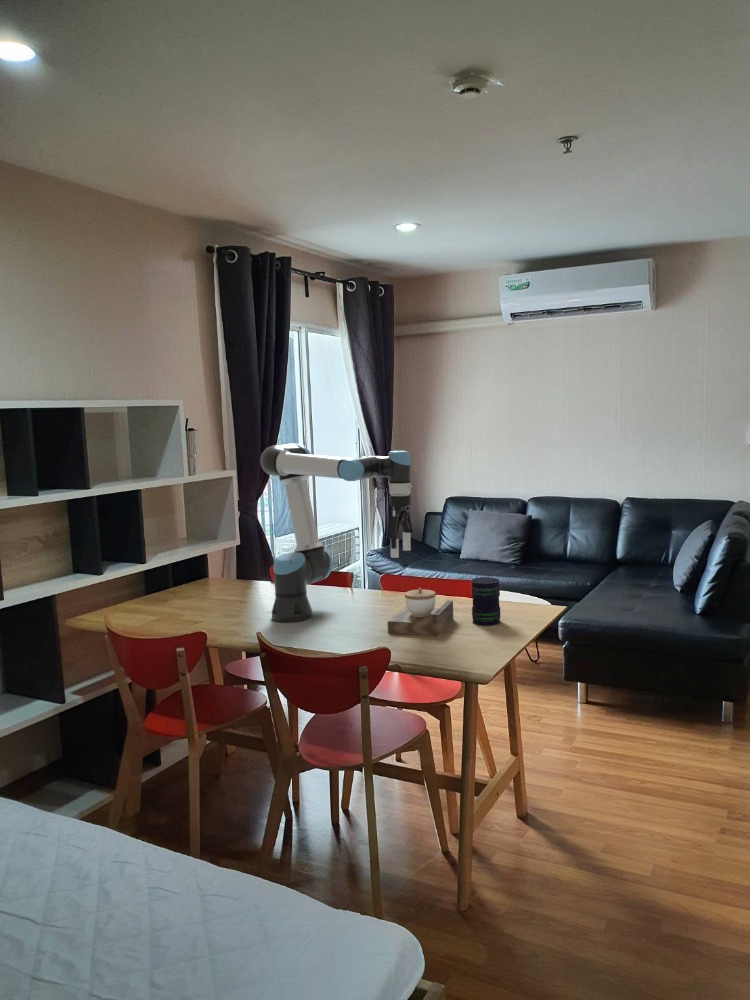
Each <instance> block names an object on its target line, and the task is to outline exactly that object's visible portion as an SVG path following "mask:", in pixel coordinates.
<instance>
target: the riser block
mask: <svg viewBox="0 0 750 1000" xmlns="http://www.w3.org/2000/svg"><path fill="white" fill-rule="evenodd" d="M454 620H455V619H454V600H446V601H445V602H444V603H443V604H442V605H441V606H440V607H438V608H437V607H434V609H433V611H432V612H431V613H430V615H429V616H426V617H415V616H412V614H411V613H410V612H409V611H408V609H407V606H404V607H403V608H401V609H400V610H399V611H398V612H397V613H396V614H395V615H393V616H391V618H390V619H388V620H387V633H388V632H389V633H391V634H403V633H415V634H414V635H421V634H427V635H426V636H439V635H440V636H441V635H442V633H444V631H445V630H446V629H447V628H448V627H449V625H450V624H451V623H453V622H454ZM428 634H429V635H428Z"/></svg>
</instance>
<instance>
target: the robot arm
mask: <svg viewBox="0 0 750 1000" xmlns="http://www.w3.org/2000/svg"><path fill="white" fill-rule="evenodd" d="M259 460H260V465H261V466H260V467H261V469H262V470H263V471H264V472H265V473H266V474H267V475H269V476H271V477H278V478H279V482H280V483H281V484H283V486H284V487H285V494H286V498H287V502H288V508H289V513H290V518H291V522H292V529H293V533H294V539H295V543H296V547H295V548H294V550H293V552H289V553H283V554H280V555H278V556H277V557H275V558H274V560H273V568H272V569H273V578H274V595H275V596H274V597H275V598H274V602H273V606H272V610H271V619H272V620H273V621H275V622H278V623H279V622H280V623H281V622H282V623H292V622H301V621H307V620H309V619H311V618H312V617H313V608H312V606H311V602H310V601H309V598H308V594H307V592H308V590H307V586H308V585H311V584H314V583H316V582H317V583H318V582H321V581H323V580H325V579H326V578H328V577H329V576H330V574H331V573H332V571H333V566H334V564H333V563H334V561H333V558H332V555H331V554H330V553H329V552H328V551H327V549H326V550H325V547H324V544H323V543H322V542H320V541H319V537H318V531H317V527H316V521H315V517H314V511H313V507H312V501H311V496H310V491H309V486H308V479H309V477H310V476H311V477H322V478H331V479H332V478H333V479H342V480H344V481H346V482H355V481H359V480H367V479H373V478H388V480H389V481H388V487H389V488H388V491H389V492H388V494H389V507H390V506H391V507H393V508H394V509H393V510H390V519H389V520H390V521H389V525H388V526H389V527H388V533H387V534H388V535H387V540H390V544H389V545H390V558H393V559H394V558H395V559H396V558H397V559H398V558H400V556H399V555H400V553H399V549H400V548H399V545H400V544H399V543H400V542H399V538H398V537H399V532H400V528H402V531H403V532H402V551H406V552H407V551H408V552H409V551H411V550H412V549H411V548H412V547H411V545H412V544H411V533H413V532H414V529H413V524H412V519H411V513H410V506H411V505H412V499H411V497H412V496H411V495H410V494H411V491H412V490H411V489H412V488H413V486H412V484H411V465H412V463H411V454H410V452H409V451H408V450H391V451H389V452H388V456H381V455H363V456H362V457H358V458H357V457H355V458H354V457H342V456H329V455H318V454H317V455H316V454H312V453H311V451H310V450H309V449H308V448H307V447H306V446H305V445H303V444H300V443H287V444H286V443H285V444H274V445H269V446H268V447H266V449H264V451H262V453H261V456H260V459H259Z"/></svg>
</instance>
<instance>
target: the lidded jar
mask: <svg viewBox="0 0 750 1000" xmlns="http://www.w3.org/2000/svg"><path fill="white" fill-rule="evenodd" d="M436 594H437V593H436V591H434V590H432V589H422V587H418V589H412V590H408V591H406V592H405V593H404V599H405V600H404V601H405V607H407V609H408V611H409V612H410V613H411V614H412V616H415V617H426V616H429V615H430V613H431V612H432V611H433V609H434V608H436V606H435V605H436V596H437V595H436Z"/></svg>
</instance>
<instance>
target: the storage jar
mask: <svg viewBox="0 0 750 1000" xmlns="http://www.w3.org/2000/svg"><path fill="white" fill-rule="evenodd" d="M470 582H471V584H470V585H471V591H470V592H471V597H472V607H471V616H472V624H473V625H476V626H480V627H481V626H482V627H492V626H493V627H494V626H496V625H500V624H501V619H500V618H501V606H500V595H501V589H500V588H501V587H500V579H499V578H495V577H488V576H487V577H476V578H472V579H471V581H470Z"/></svg>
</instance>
